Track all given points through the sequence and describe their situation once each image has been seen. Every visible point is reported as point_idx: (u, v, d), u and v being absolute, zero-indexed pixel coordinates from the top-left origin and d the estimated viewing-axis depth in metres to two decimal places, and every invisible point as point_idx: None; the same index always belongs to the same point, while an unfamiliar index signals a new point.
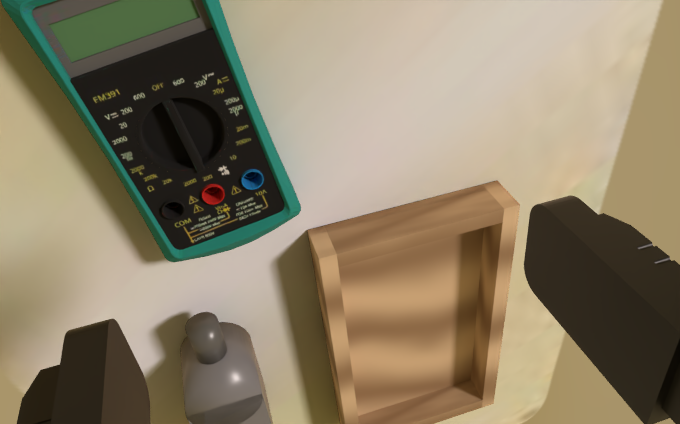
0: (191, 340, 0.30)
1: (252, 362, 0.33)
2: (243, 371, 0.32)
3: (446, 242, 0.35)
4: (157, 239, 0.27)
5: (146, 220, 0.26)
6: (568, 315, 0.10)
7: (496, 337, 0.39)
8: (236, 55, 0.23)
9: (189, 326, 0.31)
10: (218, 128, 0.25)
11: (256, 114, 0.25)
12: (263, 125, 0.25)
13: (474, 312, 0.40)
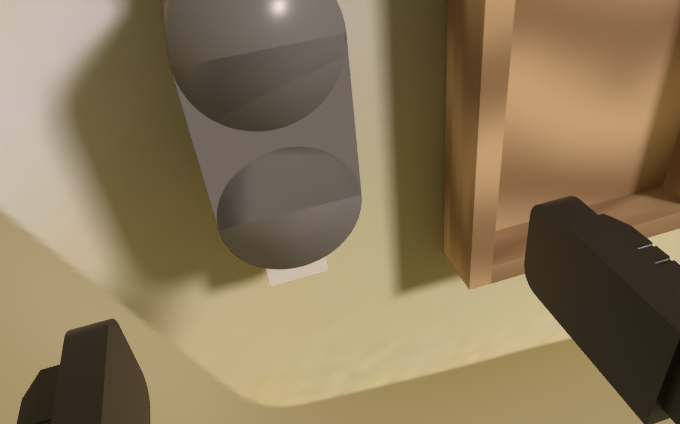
0: None
1: None
2: None
3: None
4: None
5: None
6: (568, 315, 0.10)
7: None
8: None
9: None
10: None
11: None
12: None
13: None
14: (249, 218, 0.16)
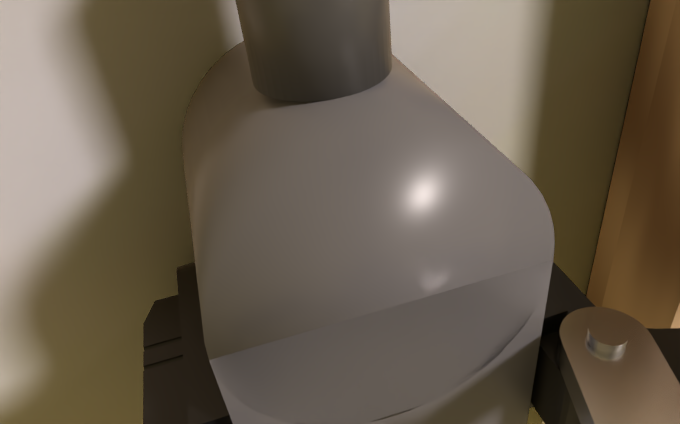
0: None
1: None
2: (486, 139, 0.06)
3: None
4: None
5: None
6: None
7: None
8: None
9: None
10: None
11: None
12: None
13: None
14: None
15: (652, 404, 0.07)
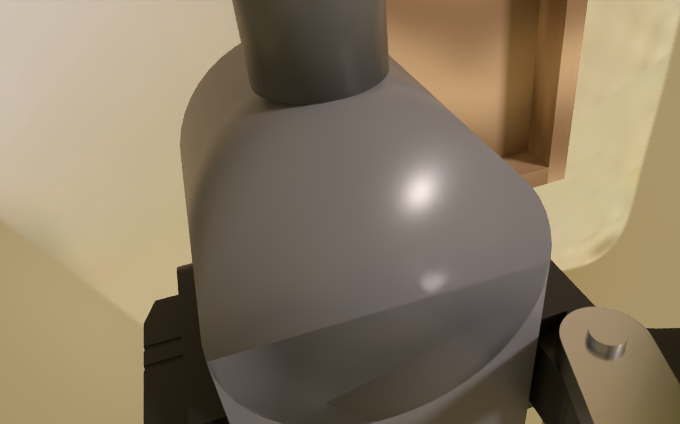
0: None
1: None
2: (482, 141, 0.07)
3: None
4: None
5: None
6: None
7: (575, 22, 0.24)
8: None
9: None
10: None
11: None
12: None
13: None
14: None
15: (652, 404, 0.07)
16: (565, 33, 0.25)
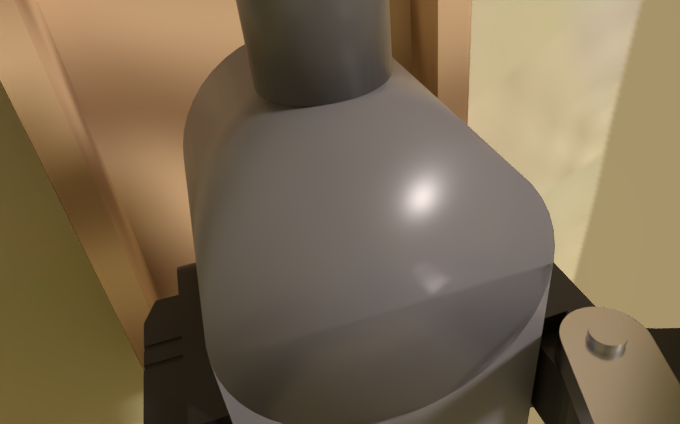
0: None
1: None
2: (485, 142, 0.07)
3: None
4: None
5: None
6: None
7: None
8: None
9: None
10: None
11: None
12: None
13: None
14: None
15: (652, 404, 0.07)
16: None
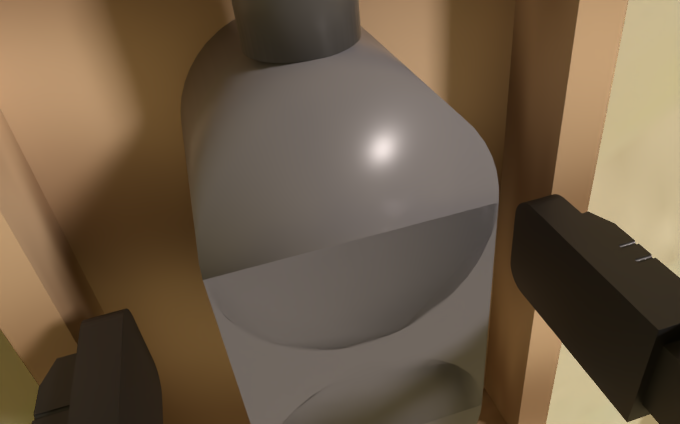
0: None
1: None
2: (437, 95, 0.08)
3: None
4: None
5: None
6: (552, 312, 0.10)
7: None
8: None
9: None
10: None
11: None
12: None
13: None
14: None
15: None
16: None
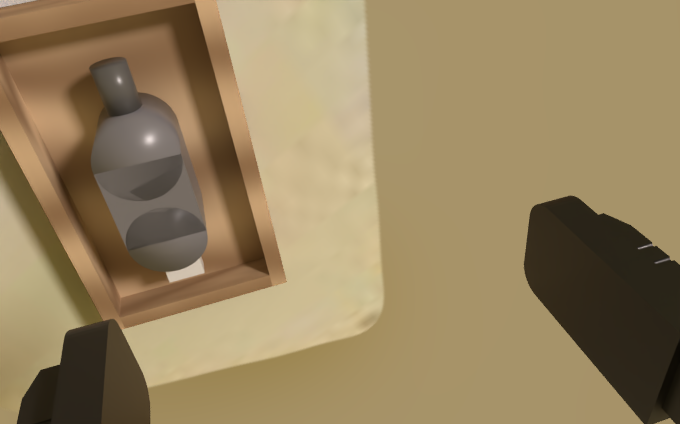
0: (95, 78, 0.27)
1: (173, 127, 0.30)
2: (157, 124, 0.28)
3: (158, 47, 0.30)
4: None
5: None
6: (568, 315, 0.10)
7: (253, 181, 0.33)
8: None
9: (94, 66, 0.27)
10: None
11: None
12: None
13: (234, 158, 0.34)
14: (144, 244, 0.31)
15: None
16: (248, 188, 0.34)
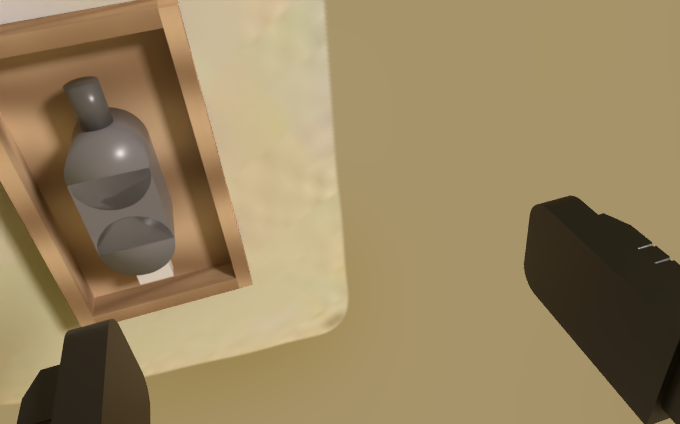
0: (69, 97, 0.29)
1: (142, 142, 0.32)
2: (127, 139, 0.30)
3: (129, 66, 0.32)
4: None
5: None
6: (568, 315, 0.10)
7: (219, 191, 0.36)
8: None
9: (68, 85, 0.29)
10: None
11: None
12: None
13: (203, 168, 0.37)
14: (114, 250, 0.33)
15: None
16: (215, 198, 0.36)
